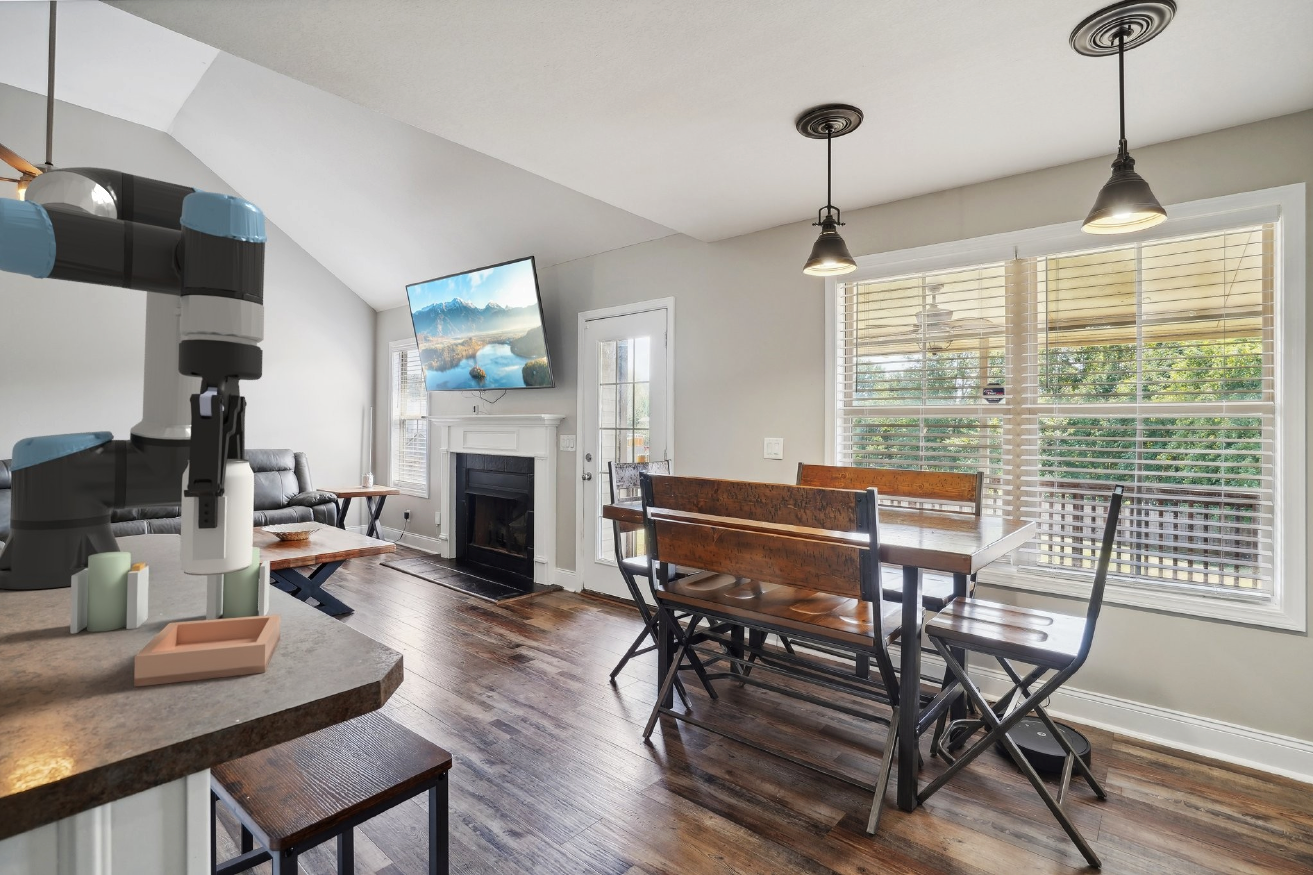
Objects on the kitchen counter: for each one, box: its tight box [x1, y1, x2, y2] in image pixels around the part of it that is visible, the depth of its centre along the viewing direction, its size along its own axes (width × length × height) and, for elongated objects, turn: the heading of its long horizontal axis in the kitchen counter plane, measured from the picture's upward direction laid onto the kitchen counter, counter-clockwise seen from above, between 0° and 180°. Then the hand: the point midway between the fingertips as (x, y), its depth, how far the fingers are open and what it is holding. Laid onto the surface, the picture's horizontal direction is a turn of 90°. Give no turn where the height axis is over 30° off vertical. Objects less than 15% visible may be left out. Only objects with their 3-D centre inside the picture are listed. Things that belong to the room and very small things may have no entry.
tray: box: [133, 613, 282, 688], centre depth 69 cm, size 11×11×3 cm
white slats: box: [69, 559, 271, 634], centre depth 81 cm, size 4×20×8 cm, turn 114°
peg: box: [86, 551, 132, 632], centre depth 78 cm, size 4×4×9 cm
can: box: [179, 458, 255, 576], centre depth 68 cm, size 6×6×12 cm
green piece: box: [221, 546, 261, 619], centre depth 84 cm, size 4×4×9 cm
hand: (217, 551), depth 68 cm, fingers closed on can, 6 cm apart
